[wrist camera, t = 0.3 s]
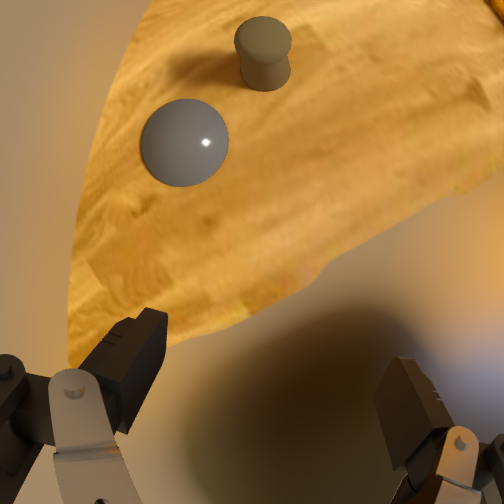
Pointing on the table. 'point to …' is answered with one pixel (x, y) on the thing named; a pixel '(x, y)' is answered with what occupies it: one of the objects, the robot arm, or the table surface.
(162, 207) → the table surface
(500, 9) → the element tile
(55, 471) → the robot arm
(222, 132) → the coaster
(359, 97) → the table surface
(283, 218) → the table surface
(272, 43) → the olive game pawn
